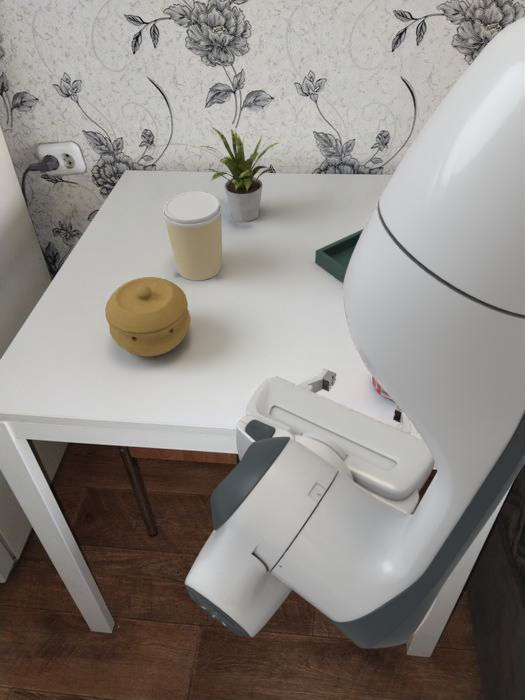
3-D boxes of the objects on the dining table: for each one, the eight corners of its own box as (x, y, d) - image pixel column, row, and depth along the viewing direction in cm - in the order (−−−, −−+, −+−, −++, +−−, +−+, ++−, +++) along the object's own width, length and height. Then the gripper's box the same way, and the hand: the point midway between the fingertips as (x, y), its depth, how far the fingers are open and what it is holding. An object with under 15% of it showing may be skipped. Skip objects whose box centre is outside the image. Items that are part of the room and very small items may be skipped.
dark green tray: (412, 269, 99) (415, 257, 97) (360, 296, 94) (362, 284, 92) (365, 239, 106) (366, 227, 104) (315, 262, 101) (315, 250, 99)
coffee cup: (230, 252, 104) (225, 190, 96) (222, 284, 97) (216, 221, 89) (178, 250, 105) (168, 189, 97) (167, 282, 98) (156, 220, 90)
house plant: (186, 216, 113) (175, 133, 102) (236, 188, 120) (230, 107, 109) (240, 242, 106) (234, 157, 95) (290, 211, 113) (289, 127, 102)
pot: (160, 304, 94) (149, 252, 87) (209, 338, 88) (202, 285, 81) (99, 342, 88) (82, 289, 81) (147, 380, 82) (133, 327, 75)
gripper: (410, 510, 52) (462, 408, 61) (223, 417, 61) (291, 339, 69) (400, 544, 57) (450, 445, 65) (227, 454, 65) (291, 376, 73)
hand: (367, 390), depth 67 cm, fingers open, 8 cm apart
